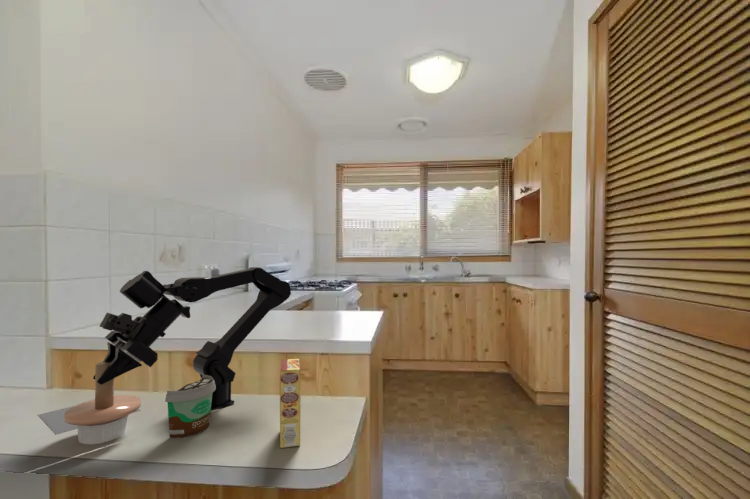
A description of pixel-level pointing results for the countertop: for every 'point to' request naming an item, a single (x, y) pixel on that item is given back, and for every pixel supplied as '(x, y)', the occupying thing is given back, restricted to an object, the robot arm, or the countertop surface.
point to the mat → (58, 421)
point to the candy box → (290, 403)
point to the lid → (102, 403)
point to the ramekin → (102, 431)
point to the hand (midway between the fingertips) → (96, 381)
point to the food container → (190, 408)
